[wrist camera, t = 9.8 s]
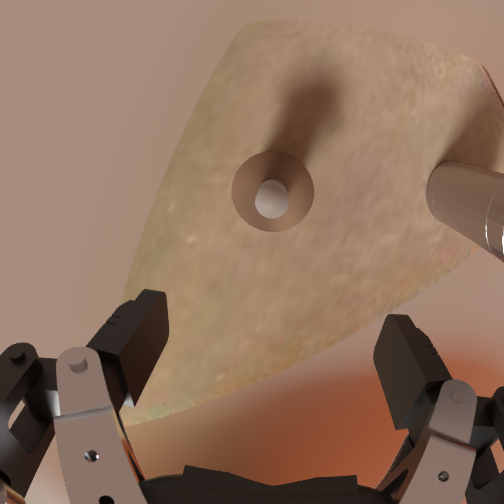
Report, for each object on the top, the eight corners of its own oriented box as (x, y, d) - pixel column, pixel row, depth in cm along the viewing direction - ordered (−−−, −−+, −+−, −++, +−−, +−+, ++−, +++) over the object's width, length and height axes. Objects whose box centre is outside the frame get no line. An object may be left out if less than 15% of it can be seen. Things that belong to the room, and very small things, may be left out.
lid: (316, 155, 25) (325, 158, 21) (308, 232, 28) (314, 252, 23) (234, 148, 26) (225, 150, 21) (231, 226, 29) (221, 244, 24)
